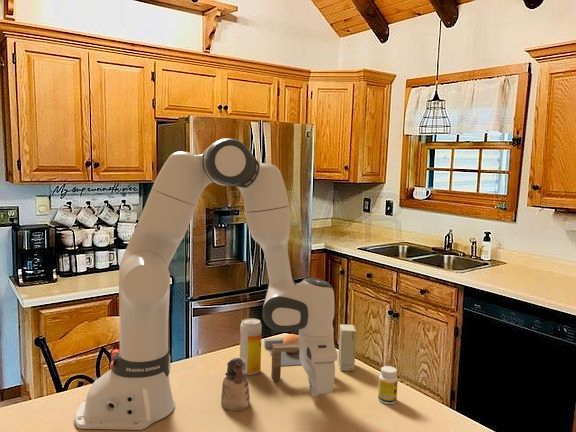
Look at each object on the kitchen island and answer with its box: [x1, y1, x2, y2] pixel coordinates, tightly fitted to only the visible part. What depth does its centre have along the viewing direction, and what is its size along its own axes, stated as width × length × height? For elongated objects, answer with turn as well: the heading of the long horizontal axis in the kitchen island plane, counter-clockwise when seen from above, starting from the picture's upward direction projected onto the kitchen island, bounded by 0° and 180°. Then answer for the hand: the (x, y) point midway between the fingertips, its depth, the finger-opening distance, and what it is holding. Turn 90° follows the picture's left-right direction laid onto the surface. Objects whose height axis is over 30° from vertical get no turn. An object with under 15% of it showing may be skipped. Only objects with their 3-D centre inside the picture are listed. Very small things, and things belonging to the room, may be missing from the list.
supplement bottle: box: [377, 365, 399, 405], centre depth 122 cm, size 5×5×8 cm
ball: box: [283, 333, 299, 353], centre depth 151 cm, size 6×6×6 cm
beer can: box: [239, 317, 263, 376], centre depth 136 cm, size 6×6×15 cm
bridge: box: [270, 343, 300, 382], centre depth 133 cm, size 3×17×10 cm, turn 102°
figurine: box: [220, 357, 251, 412], centre depth 117 cm, size 7×7×12 cm
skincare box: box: [337, 323, 357, 372], centre depth 141 cm, size 6×4×12 cm
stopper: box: [263, 337, 285, 350], centre depth 156 cm, size 14×2×2 cm, turn 102°
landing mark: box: [268, 349, 302, 367], centre depth 147 cm, size 12×12×1 cm
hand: (313, 393), depth 121 cm, fingers closed
